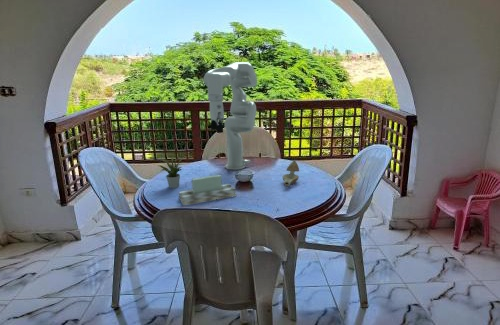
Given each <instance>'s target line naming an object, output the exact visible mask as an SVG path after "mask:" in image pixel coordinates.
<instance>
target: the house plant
mask: <svg viewBox="0 0 500 325" xmlns="http://www.w3.org/2000/svg"><path fill="white" fill-rule="evenodd" d="M170 159H171V161H169V160H168V159H167V158H165V159H162V158H161V161H163V162H161V161H160V163H162V164H163V165H165V163H166V167H165V166H163V165H160V164H159V165H158V164H157V166H158V167H160V168H161V171H165V172H167V173H168V174H167V175H166V176H165V177H166V181H167V184H168V188H169V189H176V188H177V189H178V188H180V179H181V178H180V177H181V175H180V173H178V172H181V171H182V170H183V168H184V167H182V166H180V165H181V162H182V160H183V159H186V157H182V158H175V160H174V156H171V158H170ZM177 161H178V162H177ZM164 162H165V163H164Z"/></svg>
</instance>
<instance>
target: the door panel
mask: <svg viewBox="0 0 500 325" xmlns="http://www.w3.org/2000/svg"><path fill="white" fill-rule="evenodd" d="M222 177H223V176H222V175H221V174H217V175H216V174H215V175H209V176H202V177H201V176H200V177H196V178H195V177H194V178H191V187H192V190H193V194H196V193H202V192H208V191H215V190H221V189H222V185H223V182H222V181H223V178H222Z"/></svg>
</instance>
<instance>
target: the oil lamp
mask: <svg viewBox="0 0 500 325" xmlns="http://www.w3.org/2000/svg"><path fill="white" fill-rule="evenodd" d="M286 171H287V172H290V173H287V174H283V175H282V181H283V185H284V186H285V187H289V186H290V185H292V184H295V183H297V181H298V180H299V178H300V177H299V175H298V174H296V173H295V172H300V167H299V165H298V163H297V161H296V159H293V161H292V162H290V164H288V167H287V168H286Z"/></svg>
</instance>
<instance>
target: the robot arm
mask: <svg viewBox="0 0 500 325" xmlns="http://www.w3.org/2000/svg"><path fill="white" fill-rule="evenodd" d="M203 82H204V84H205V85H206V87H207V100H208V102H209V118H210V129H211V130H212V131H215V130H216V133H217V134H222V133H224V130H225V133H226V134H225V135H226V153H227V163H226V164H225V168H226V169H227V170H230V171H231V170H232V171H235V170H237V171H238V170H242V169H245V168H246V164H250V163H251V159H244V156H243V155H244V152H243V151H244V149H243V148H244V147H243V144H244V143H243V137H242V136H241V134H240V133H242V134H243V133H244V134H245V133H246V134H248V133H252V132H253V130H254V126H255V121H256V116H257V105H256V103H255V102H254V101H251V100H250V101H247V93H246V92H245V91H244V90H243V89H242V88H254V87H256V86H257V84H258V76H257V73H256V72H255V69H254V67H253V65H252V64H251V63H250V62H249V61H248V62H247V61H245V62H243V61H242V62H236V61H235V62H231V63H230V64H228V65H225V66H223V67H219V68H213V69H211V70H208V71H206V73H205V74H204V76H203ZM229 86H230V88H231V90H232V91H231V92H232V99H231V103H230V109H229V110H230V111H229V112H230V115H231V116H228V117H226V118H225V110H224V104H223V103H224V92H223V91H224V90H223V88H225V87H229ZM224 128H225V129H224Z"/></svg>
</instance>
